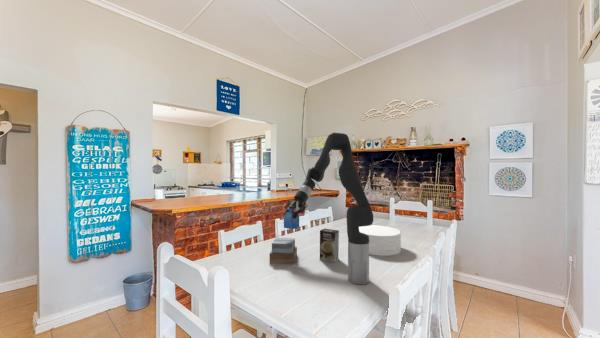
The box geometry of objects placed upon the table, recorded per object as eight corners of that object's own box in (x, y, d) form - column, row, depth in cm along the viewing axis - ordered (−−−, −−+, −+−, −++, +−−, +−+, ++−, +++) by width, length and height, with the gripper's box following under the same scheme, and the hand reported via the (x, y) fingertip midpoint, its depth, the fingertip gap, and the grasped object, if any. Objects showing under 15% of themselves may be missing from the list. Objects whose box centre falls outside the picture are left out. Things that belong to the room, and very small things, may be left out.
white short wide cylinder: (368, 239, 179) (368, 223, 179) (408, 248, 159) (408, 230, 159) (345, 248, 159) (345, 230, 159) (387, 259, 139) (387, 238, 139)
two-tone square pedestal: (293, 263, 132) (293, 244, 132) (269, 262, 133) (269, 243, 133) (296, 255, 145) (296, 238, 145) (274, 254, 146) (274, 237, 146)
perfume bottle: (291, 225, 146) (291, 205, 146) (299, 227, 142) (299, 206, 142) (283, 227, 141) (283, 206, 141) (291, 229, 137) (291, 207, 137)
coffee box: (319, 260, 138) (319, 230, 138) (323, 256, 143) (323, 228, 143) (335, 262, 133) (335, 232, 133) (339, 259, 139) (339, 229, 139)
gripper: (291, 189, 152) (277, 211, 143) (309, 190, 142) (295, 214, 134) (297, 197, 156) (283, 219, 147) (315, 199, 146) (302, 222, 137)
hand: (289, 216), depth 140 cm, fingers closed on perfume bottle, 6 cm apart
